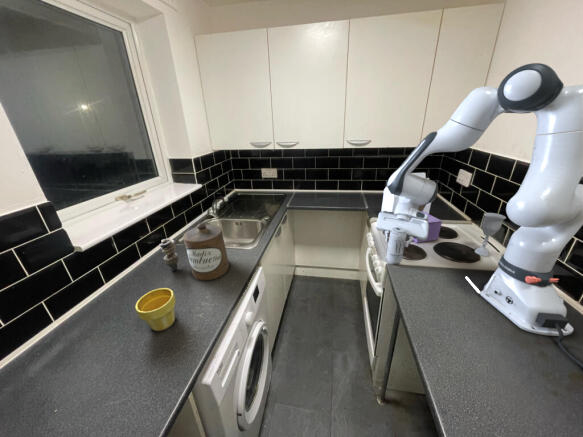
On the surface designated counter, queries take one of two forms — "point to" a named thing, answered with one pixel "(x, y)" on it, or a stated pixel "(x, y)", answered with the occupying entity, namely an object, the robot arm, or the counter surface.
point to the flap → (433, 219)
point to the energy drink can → (396, 245)
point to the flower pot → (157, 308)
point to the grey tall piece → (169, 253)
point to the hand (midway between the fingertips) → (396, 244)
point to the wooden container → (206, 251)
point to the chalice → (489, 229)
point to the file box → (431, 231)
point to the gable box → (392, 200)
